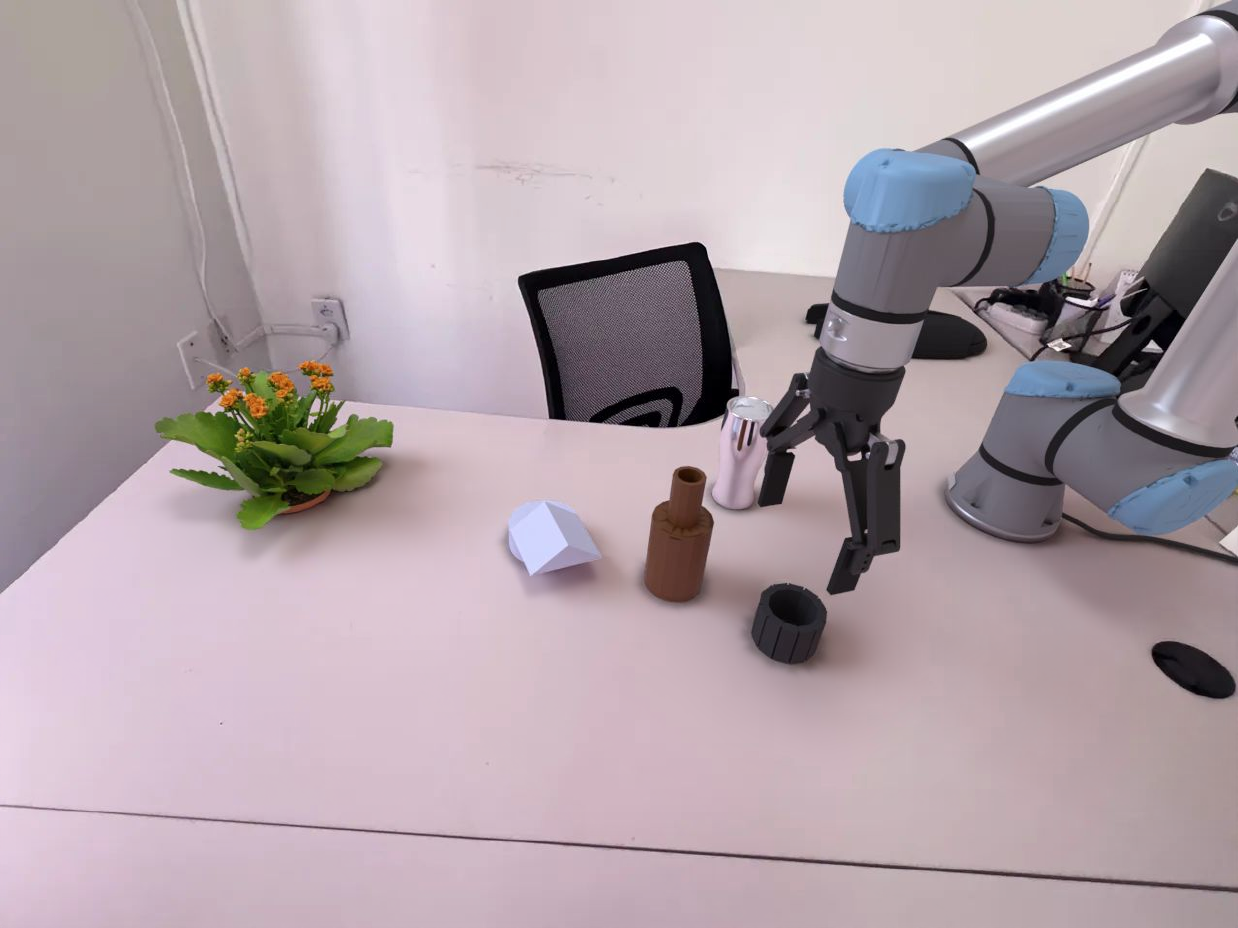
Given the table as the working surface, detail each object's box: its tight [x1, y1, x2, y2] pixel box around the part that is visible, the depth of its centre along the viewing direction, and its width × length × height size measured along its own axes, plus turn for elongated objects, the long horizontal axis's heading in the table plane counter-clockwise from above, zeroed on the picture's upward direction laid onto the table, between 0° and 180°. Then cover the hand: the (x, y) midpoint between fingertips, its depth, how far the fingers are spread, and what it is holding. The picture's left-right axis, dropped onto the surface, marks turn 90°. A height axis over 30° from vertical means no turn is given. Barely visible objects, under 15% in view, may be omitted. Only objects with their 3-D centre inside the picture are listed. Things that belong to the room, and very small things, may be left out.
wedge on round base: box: [507, 499, 604, 577], centre depth 81 cm, size 9×7×13 cm
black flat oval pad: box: [804, 302, 988, 359], centre depth 149 cm, size 25×40×5 cm, turn 89°
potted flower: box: [153, 360, 395, 531], centre depth 83 cm, size 25×24×18 cm
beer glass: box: [711, 395, 776, 510], centre depth 91 cm, size 7×7×15 cm
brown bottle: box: [644, 465, 715, 603], centre depth 75 cm, size 7×7×16 cm
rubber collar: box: [750, 582, 828, 665], centre depth 72 cm, size 7×7×5 cm
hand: (802, 543), depth 67 cm, fingers open, 13 cm apart
